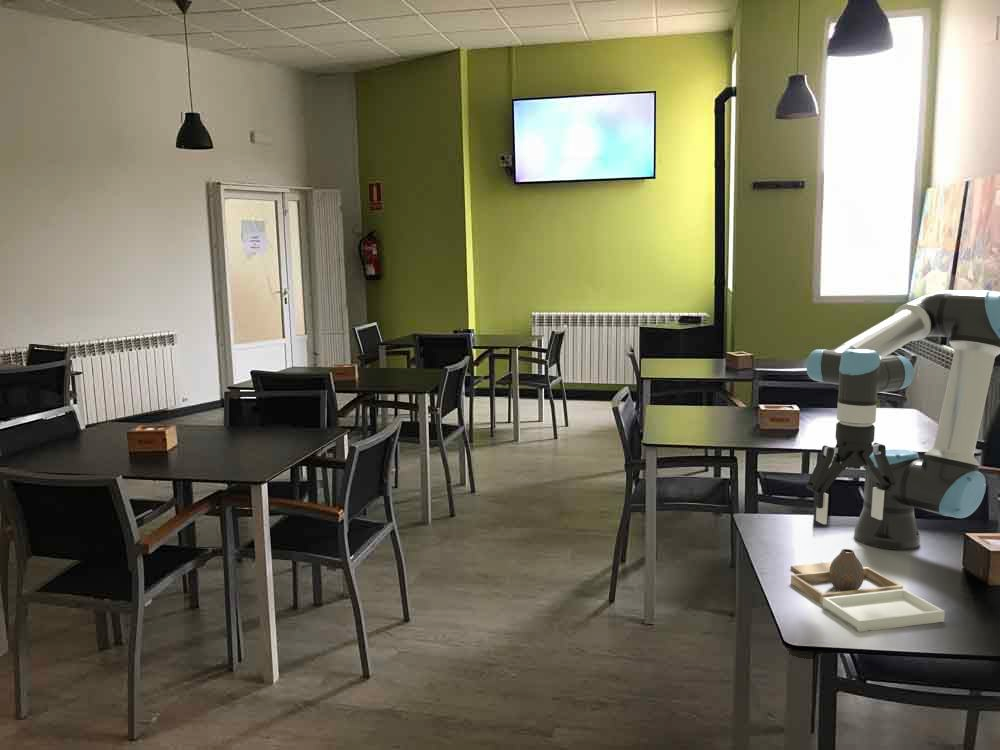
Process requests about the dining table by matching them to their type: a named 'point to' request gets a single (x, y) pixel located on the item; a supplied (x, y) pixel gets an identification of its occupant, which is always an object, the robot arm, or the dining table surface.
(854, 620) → the off-white tray
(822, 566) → the lid
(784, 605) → the dining table surface
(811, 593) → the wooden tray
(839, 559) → the vase
